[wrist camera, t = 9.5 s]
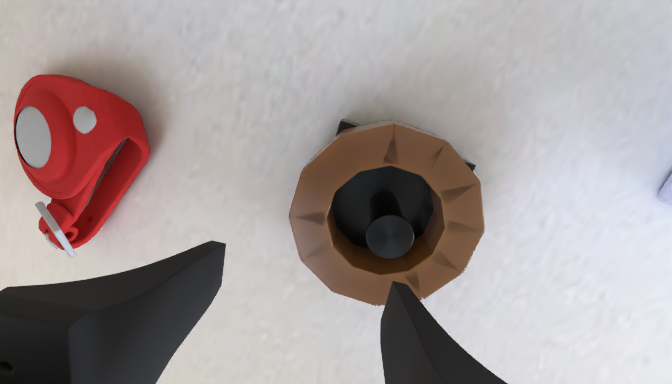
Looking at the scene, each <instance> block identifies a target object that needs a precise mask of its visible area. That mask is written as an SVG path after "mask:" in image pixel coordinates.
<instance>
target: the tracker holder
mask: <svg viewBox="0 0 672 384" xmlns="http://www.w3.org/2000/svg"><path fill="white" fill-rule="evenodd" d="M127 138H128V140H127V141H126V143H125V144H124V146H123V148H122V149H121V151H120V152H119V154H118V156H117V157H116V159H115V160H114V162H113V164H112V165H111V167H110V169H109V170H108V172H107V173H106V175H105V177H104V178H103V180H102V181H101V183H100V185H99V186H98V188H97V189H96V191H95V192H94V194H93V196H92V198H91V200H90V201H89V203H88V205H87V206H86V207H85V209H84V210H83V208H84V206H85V204H86V202H87V200H88V198H89V196H90V194H91V192H92V190H93V188H94V186H95V184H96V182H97V180H98V178H99V176H100V174H101V172H102V170H103V168H104V166H105V164H106V162H107V161H108V159H109V158H110V157H111V155H112V154H113V152H114V151H115V149H116V148H117V147H118V145H119V144H120V143H121V142H122V141H123V140H125V139H127ZM14 139H15V145H16V149H17V152H18V156H19V159H20V162H21V164H22V167H23V169H24V171H25V173H26V174H27V176H28V178H29V179H30V180H31V182H32V183H33V185H34V186H35V187H36V188H37V189H38V190H39V191H41V192H42V193H43V194H45V195H47V196H49V197H51V198H52V200H51V203H49V204H48V205H47V208H46V207H45V205H44V204H43V202H38V203H36V204H35V206H36V207H37V209H38V210H39V212H40V213H41V215H42V217H41V219H40V220H39V229H40V231H41V232H42V233H43V234H44V235H45V236H46V239H47V241H48V242H49V243H50V244H51V246H53V247H55V248H56V249H58V248H60V249H62V250H65V251H66V252H67V254H68V255H69V257H71V258H72V257H75V256H76V252H75V251H74V249H75V248H78V247H80V246H81V245H83V244H85V243H87V242H88V241H89V240H90V239H91V238H92V237H93V236H95V235H96V234H97V232H98V231H99V230H100V228H101V227H102V225H103V224H104V223H105V221H106V220H107V218H108V217H109V215H110V214H111V212H112V211H113V209H114V208H115V206H116V205H117V203H118V202H119V201H120V199H121V198H122V196H123V195H124V193H125V192H126V191H127V189H128V188H129V186H130V185H131V183H132V182H133V181H134V179H135V178H136V176H137V175H138V173H139V172H140V171H141V169H142V168H143V166H144V165H145V163H146V162H147V160H148V157H149V146H148V141H147V137H146V133H145V129H144V124H143V120H142V117H141V115H140V114H139V112H138V111H137V110H136V109H135V108H134V107H133V106H132V105H131V104H130V103H128V102H127V101H125V100H123V99H122V98H120V97H118V96H117V95H115V94H113V93H110V92H108V91H105V90H102V89H99V88H96V87H93V86H91V85H89V84H87V83H85V82H83V81H82V80H79V79H76V78H73V77H67V76H62V75H37V76H35V77H32V78H31V79H30V80H29V81H28V82H27V83H26V84H25V85H24V87H23V88H22V90H21V92H20V95H19V97H18V100H17V103H16V108H15V115H14ZM82 210H83V211H82ZM81 212H82V213H81Z"/></svg>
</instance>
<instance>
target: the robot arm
mask: <svg viewBox="0 0 672 384" xmlns="http://www.w3.org/2000/svg"><path fill="white" fill-rule="evenodd" d="M658 198H659V200H661V201H663V202H666V203H669V204H672V173H671V175H670V176H669V178H668V179H667V181H666V182H665V184H664V185H663V187H662V188H661V190H660V191H659V193H658ZM225 247H226V244H225V243H220V242H216V241H209V242H206V243H204V244H201V245H199V246H196V247H194V248H191V249H189V250H187V251H184V252H182V253H179V254H177V255H174V256H172V257H169V258H166V259H163V260H160V261H158V262H155V263H152V264H149V265H146V266H143V267H140V268H136V269H132V270H129V271H125V272H121V273H117V274H112V275H107V276H102V277H97V278H92V279H86V280H80V281H73V282H65V283H57V284H46V285H32V286H17V287H7V288H5V289H3V290H1V291H0V384H156V382H157V380H158V379H159V377H160V375H161V374H162V372H163V370H164V369H165V367H166V366H167V364H168V362H169V361H170V359H171V357H172V356H173V355H174V353H175V352H176V350H177V349H178V347H179V346H180V345H181V343H182V342H183V341H184V339H185V338H186V337H187V335H188V334H189V333H190V331H191V330H192V329H193V327H194V326H195V325H196V323H197V322H198V321H199V320H200V318H201V317H202V315H203V314H204V313H205V311H206V310H207V309H208V307H209V306H210V304H211V303H212V301H213V299H214V298H215V296H216V294H217V292H218V290H219V288H220V287H221V284H222V275H223V266H224V257H225ZM380 340H381V352H382V361H383V369H384V377H385V384H507V383H506V382H504V381H503V380H502V379H500V378H499V377H497V376H496V375H495V374H493V373H492V372H491V371H489V370H488V369H487V368H485V367H484V366H483V365H482V364H480V363H479V362H478V361H477V360H475V359H474V358H473V357H472V356H471V355H469V354H468V353H467V352H466V351H465V350H464V349H463V348H462V347H461V346H460V345H459V344H458V343H456V342H455V341H454V340H453V339H452V338H451V337H450V336H449V335H448V334H447V332H446V331H445V330H444V329H443V328H442V327H441V326H440V325H439V324H438V323H437V321H436V320H435V319H434V318H433V317H432V315H431V314H430V313H429V312H428V311H427V309H426V308H425V307H424V305H423V304H422V303H421V302H420V300H419V299H418V298H417V296H416V295H415V294H414V292H413V291H412V290H411V288H410V287H409V286H408V285H407V284H404V283H400V282H395V281H392V285H391V288H390V291H389V295H388V298H387V301H386V305H385V308H384V311H383V315H382V318H381V333H380Z"/></svg>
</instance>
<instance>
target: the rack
mask: <svg viewBox="0 0 672 384" xmlns="http://www.w3.org/2000/svg"><path fill="white" fill-rule="evenodd" d="M357 126H361V125H358V124H355V123H352V122H349V121H346V120H343V119H342V120H341V121H340V124H339V127H338V131H337V134H336V136H337V135H338V134H339V133H340V132H341V131H342V130H345V129H348V128H352V127H357ZM462 160H463V161H464V162H465V163H466V165H467V166H468V167H469V168H470V170H471V171H472V172H473V171H474V168H475V166H476V165H474V164H473V163H471V162H470V161H467V160H464V159H462ZM331 205H332V209H333V214H334V218H335V222H336V227H337V228H338V229H339V230H340V231H341V232H342V233H343V234H344V235H345V236H346V237H347V238H348V239H349V240H350V241H351V242H352V244H353V245H356V246H359V247H362V248H366V249H369V250H371V251H372V252H373V253H375V254H376V255H378V256H380V257H383V258H397V257H400V256H402V255H403V254H405V253H406V252H407V251H408V250H409V249H410V248H411V246H412V244H413V241H414V240H415V239H417V238H418V237H419V236H421V235H422V234H423V233H424V231H425V228H426V226H427V224H428V222H429V219H430V217H431V215H432V213H433V211H434V208H433V201H432V194H431V187H430V186H429V185H428V183H427V182H426V181H425V180H424V179H423V178H422V176H420V175H417V174H414V173H411V172H408V171H405V170H402V169H399V168H396V167H393V166H385V167H380V168H375V169H370V170H365V171H360V172H358V173H357V174H356V175H354V176H353V177H352V178H351V179H350V180H349V181H347V182H346V183H345V184H344V185H343V186H342V187H340V188H339V189H338V190H337V191H336V192H335V195H334V198H333V201H332V204H331Z"/></svg>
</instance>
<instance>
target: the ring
mask: <svg viewBox="0 0 672 384" xmlns="http://www.w3.org/2000/svg"><path fill="white" fill-rule="evenodd" d="M385 166H393V167H396V168H399V169H402V170H405V171H408V172H411V173H414V174H417V175H420V176H422V178H423V179H424V180H425V181H426V182H427V183H428V185H429V186H430V187H431V194H432V201H433V208H434V211H433V213H432V215H431V217H430V219H429V222H428V224H427V226H426V228H425V231H424V233H423V234H422V235H421V236H419V237H418V238H417V239H415V240H414V241H413V244H412V246H411V248H410V249H409V250H408V251H407V252H406V253H405V254H403V255H402V256H400V257H397V258H383V257H380V256H378V255H376V254H375V253H373V252H372V251H371V250H369V249H366V248H362V247H359V246H356V245H353V244H352V242H351V241H350V240H349V239H348V238H347V237H346V236H345V235H344V234H343V233H342V232H341V231H340V230H339V229H338V228H337V227H336V222H335V218H334V214H333V209H332V205H331V204H332V201H333V198H334V195H335V192H336V191H337V190H338V189H339V188H340V187H342V186H343V185H344V184H345V183H346V182H347V181H349V180H350V179H351V178H352V177H353V176H354V175H356V174H357V173H358V172H360V171H365V170H370V169H375V168H380V167H385ZM289 220H290V224H291V227H292V231H293V235H294V238H295V242H296V246H297V249H298V253H299V257H300V259H301V261H302V262H303V263H304V264H305V265H306V266H307V267H308V268H309V269H310V270H311V271H312V272H313V273H314V274H315V275H316V276H317V277H318V278H319V279H320V280H321V281H322V282H323V283H324V284H325V285H326V286H327V287H328V288H329V289H330V290H331V291H333V292H335V293H338V294H341V295H344V296H347V297H350V298H353V299H356V300H359V301H362V302H366V303H369V304H372V305H375V306H376V305H377V306H380V305H386V301H387V298H388V295H389V291H390V288H391V285H392V281H395V282H400V283H404V284H407V285H408V286H409V287H410V288H411V290H412V291H413V292H414V294H415V295H416V296H417V298H418V299H419V300H422V299H425V298H426V297H428V296H429V295H431V294H432V293H434V292H435V291H437V290H438V289H440V288H441V287H443V286H444V285H446V284H447V283H449V282H450V281H452V280H453V279H455V278H456V277H458V276H459V275H461V274H462V272H464V270H465V268H466V267H467V265H468V263H469V261H470V259H471V257H472V255H473V253H474V251H475V249H476V247H477V245H478V243H479V241H480V239H481V237H482V235H483V233H484V229H485V227H484V216H483V206H482V195H481V185H480V181H479V179H478V178H477V177H476V176H475V174H474V173H473V172H472V171H471V170H470V168H469V167H468V166H467V165H466V163H465V162H464V161H463V160H462V158H461V157H460V156H459V155H458V154H457V152H456V151H455V150H454V149H453V147H452V146H451V145H450V144H449V143H448V142H447V141H445V140H444V139H442V138H440V137H438V136H436V135H435V134H432V133H429V132H426V131H423V130H420V129H417V128H414V127H411V126H408V125H405V124H402V123H399V122H396V121H393V120H385V121H381V122H376V123H371V124H367V125H362V126H357V127H352V128H348V129H345V130H342V131H341V132H340V133H339V134H338V135H337V136H336V137H334V138H333V139H332V140H331V141H330V142H329V143H328V144H327V145H326V146H325V147H323V148H322V149H321V150H320V151H319V152H318V153H317V154H316V155H315V156H314V157H312V158H311V159H310V161H309V162H308V163H307V165H306V166H305V167H304V168H303V170H302V172H301V175H300V178H299V182H298V185H297V188H296V192H295V195H294V199H293V202H292V205H291V209H290V212H289Z"/></svg>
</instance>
